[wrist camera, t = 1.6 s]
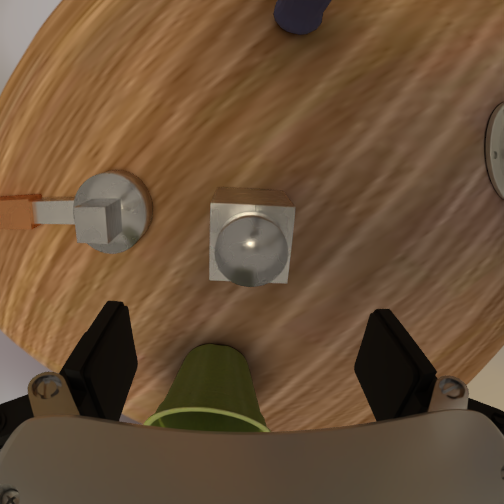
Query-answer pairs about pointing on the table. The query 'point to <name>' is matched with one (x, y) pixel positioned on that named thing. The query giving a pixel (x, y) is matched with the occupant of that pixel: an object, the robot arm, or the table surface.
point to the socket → (250, 236)
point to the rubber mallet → (300, 15)
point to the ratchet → (89, 211)
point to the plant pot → (211, 394)
